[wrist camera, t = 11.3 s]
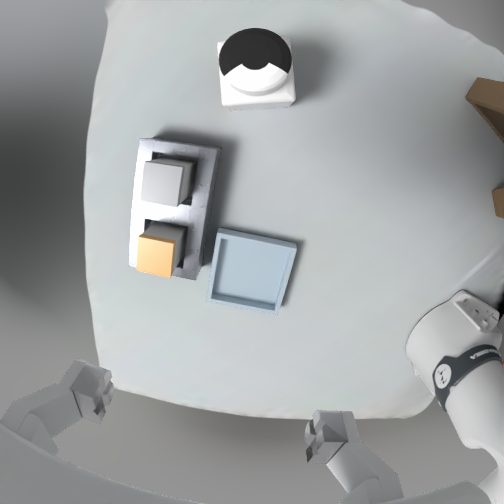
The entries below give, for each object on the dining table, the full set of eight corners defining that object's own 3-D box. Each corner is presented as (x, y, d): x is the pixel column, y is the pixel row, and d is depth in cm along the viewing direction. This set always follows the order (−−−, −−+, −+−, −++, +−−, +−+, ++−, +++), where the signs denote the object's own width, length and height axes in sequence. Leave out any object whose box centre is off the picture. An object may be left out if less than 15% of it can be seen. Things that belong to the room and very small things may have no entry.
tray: (295, 243, 39) (297, 248, 37) (277, 307, 42) (277, 315, 41) (219, 227, 38) (217, 232, 36) (208, 293, 42) (206, 301, 40)
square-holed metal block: (152, 137, 34) (140, 138, 30) (221, 148, 34) (216, 149, 31) (140, 253, 40) (129, 265, 36) (201, 266, 40) (195, 280, 37)
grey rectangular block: (197, 160, 34) (182, 167, 27) (192, 193, 36) (176, 207, 29) (165, 155, 34) (144, 161, 27) (160, 188, 35) (139, 200, 29)
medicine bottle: (225, 57, 30) (208, 24, 19) (284, 53, 29) (295, 18, 18) (229, 111, 33) (213, 100, 21) (289, 107, 32) (303, 94, 21)
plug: (188, 224, 37) (173, 243, 31) (184, 253, 39) (170, 278, 32) (158, 218, 37) (137, 236, 30) (155, 247, 38) (136, 270, 32)
